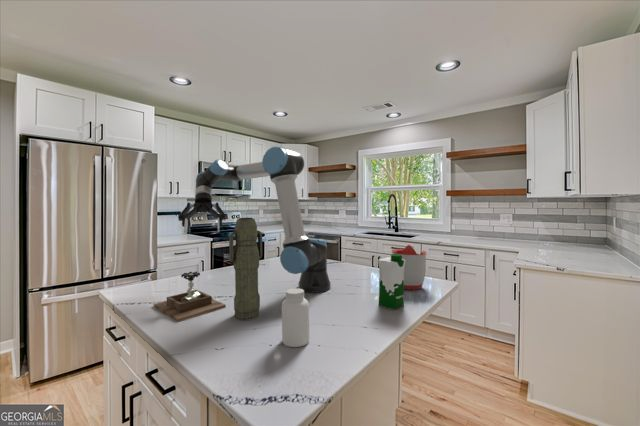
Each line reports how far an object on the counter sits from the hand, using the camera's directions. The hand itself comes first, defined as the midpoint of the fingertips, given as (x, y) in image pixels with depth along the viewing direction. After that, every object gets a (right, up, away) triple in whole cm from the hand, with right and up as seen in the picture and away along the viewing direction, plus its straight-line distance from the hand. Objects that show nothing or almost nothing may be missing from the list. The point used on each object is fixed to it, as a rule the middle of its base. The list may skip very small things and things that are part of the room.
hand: (202, 231), depth 129 cm
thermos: (+26, -29, -24) cm, 46 cm away
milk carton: (+80, -28, -14) cm, 86 cm away
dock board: (+1, -28, -16) cm, 32 cm away
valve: (+2, -28, -15) cm, 32 cm away
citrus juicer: (+95, -27, +10) cm, 99 cm away
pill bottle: (+45, -30, -43) cm, 69 cm away
